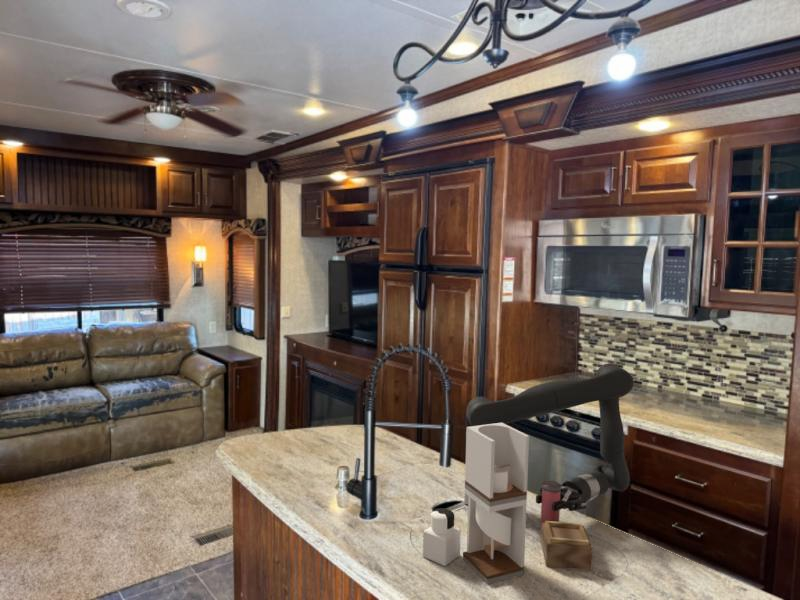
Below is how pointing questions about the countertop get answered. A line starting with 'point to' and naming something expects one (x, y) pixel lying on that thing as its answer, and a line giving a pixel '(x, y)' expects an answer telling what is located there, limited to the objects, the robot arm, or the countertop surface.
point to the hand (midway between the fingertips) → (545, 503)
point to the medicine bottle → (442, 538)
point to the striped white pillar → (496, 500)
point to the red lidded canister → (550, 501)
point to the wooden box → (566, 545)
